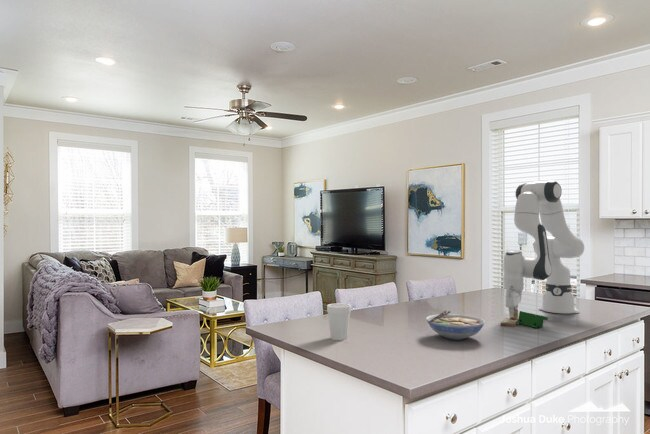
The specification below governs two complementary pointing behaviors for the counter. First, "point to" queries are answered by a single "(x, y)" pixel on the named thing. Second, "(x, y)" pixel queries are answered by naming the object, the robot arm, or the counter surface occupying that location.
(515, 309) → the awl
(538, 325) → the clamp
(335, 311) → the foam cup
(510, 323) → the bandage strip
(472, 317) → the ramen bowl
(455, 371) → the counter surface
